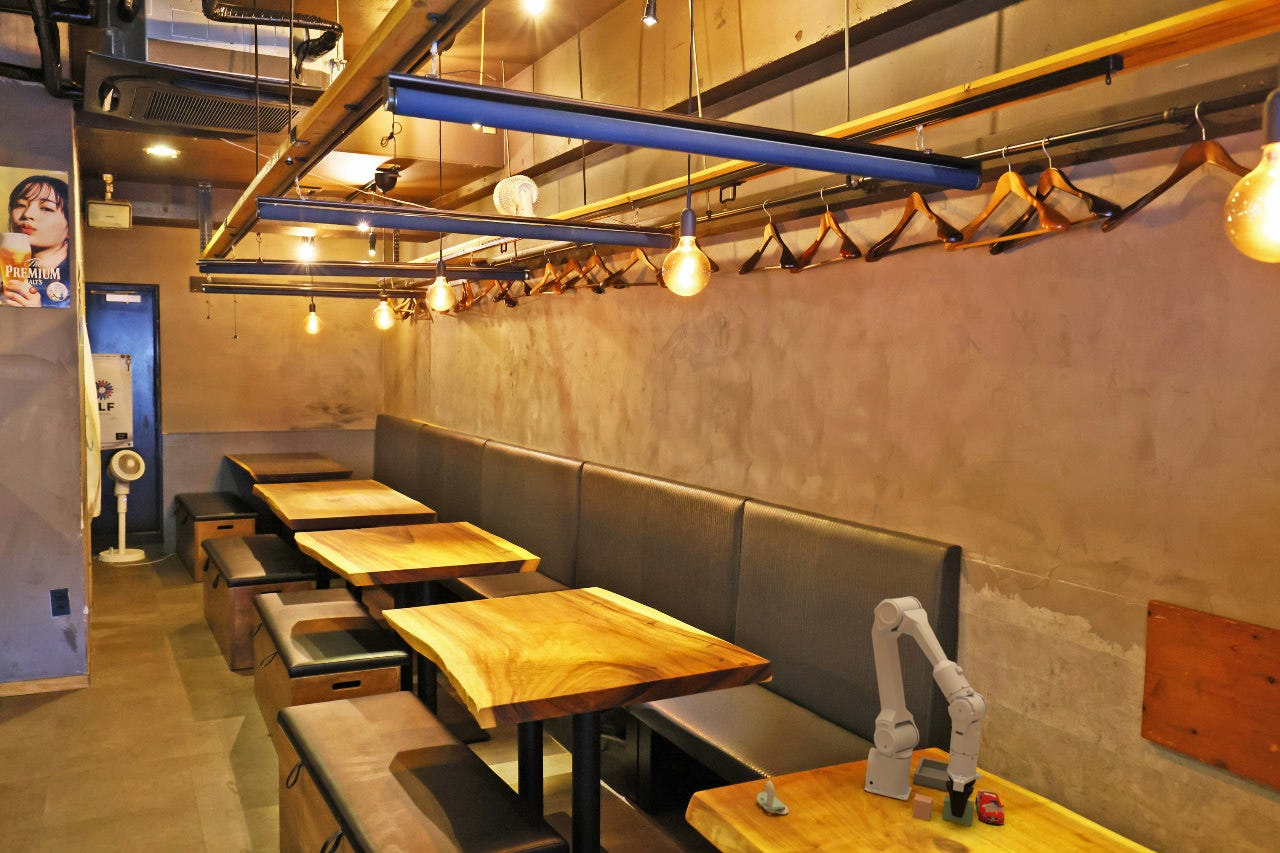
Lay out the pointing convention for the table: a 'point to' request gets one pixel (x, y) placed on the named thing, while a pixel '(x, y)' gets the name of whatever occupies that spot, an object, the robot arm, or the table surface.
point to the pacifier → (771, 800)
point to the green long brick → (965, 819)
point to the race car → (989, 807)
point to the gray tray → (931, 774)
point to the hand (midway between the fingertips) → (958, 812)
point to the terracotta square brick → (922, 807)
